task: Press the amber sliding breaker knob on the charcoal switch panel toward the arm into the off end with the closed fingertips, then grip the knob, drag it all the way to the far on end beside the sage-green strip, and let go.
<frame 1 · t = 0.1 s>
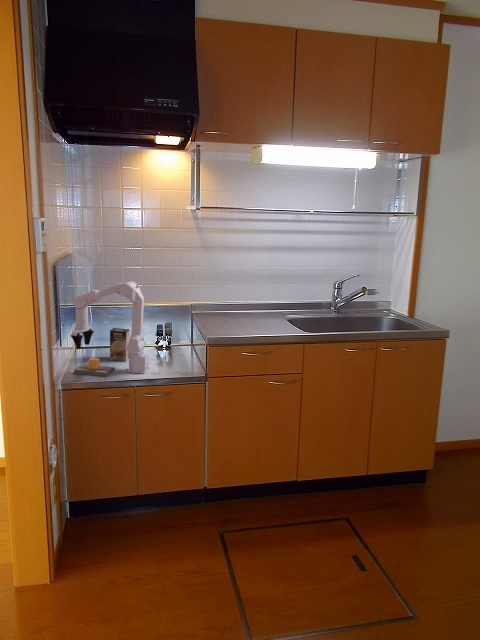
hand: (82, 346, 250), 10 cm above the countertop, tool pointing down, fingers open, 7 cm apart
breaker knob: (93, 363, 242), point 5 cm above the countertop, slide at 0.0 cm
switch panel: (94, 372, 243), on the countertop
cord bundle: (99, 368, 249), on the countertop
coffee box: (119, 359, 266), on the countertop
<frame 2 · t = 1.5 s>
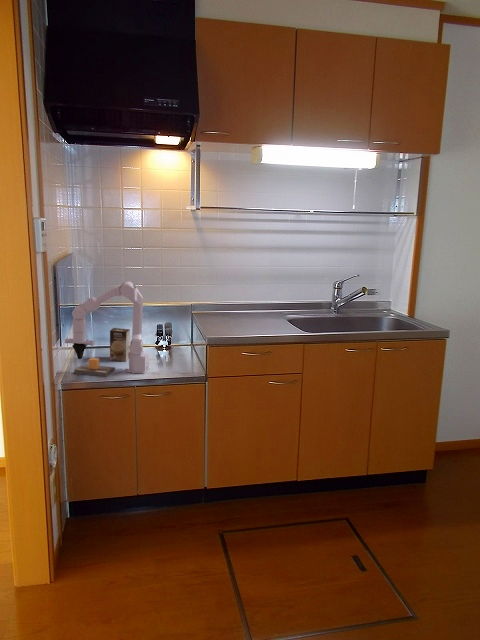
hand: (80, 358, 243), 6 cm above the countertop, tool pointing down, fingers closed
nothing on the countertop moved.
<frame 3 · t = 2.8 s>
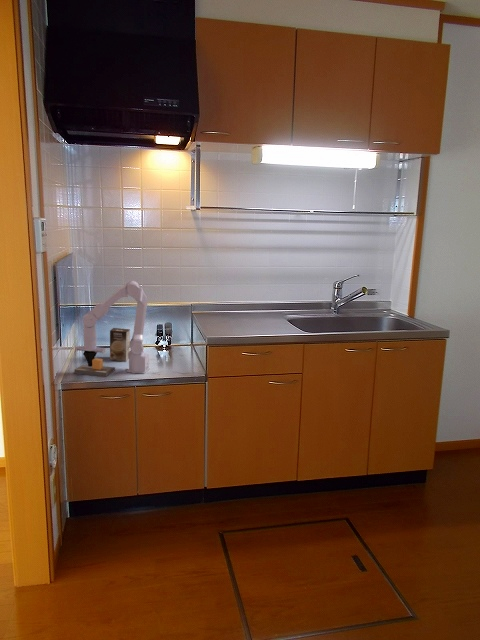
hand: (90, 365, 243), 3 cm above the countertop, tool pointing down, fingers closed
breaker knob: (97, 363, 242), point 5 cm above the countertop, slide at -1.9 cm, touching gripper
everything else where it was.
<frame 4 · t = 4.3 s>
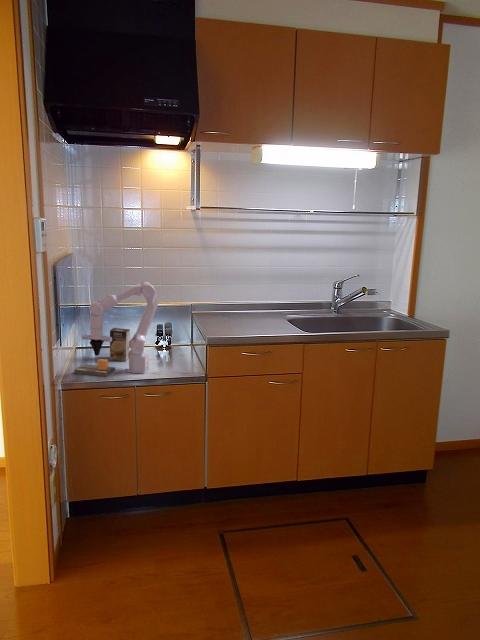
hand: (97, 354, 241), 9 cm above the countertop, tool pointing down, fingers closed
breaker knob: (102, 364, 241), point 5 cm above the countertop, slide at -4.6 cm
everything else where it was.
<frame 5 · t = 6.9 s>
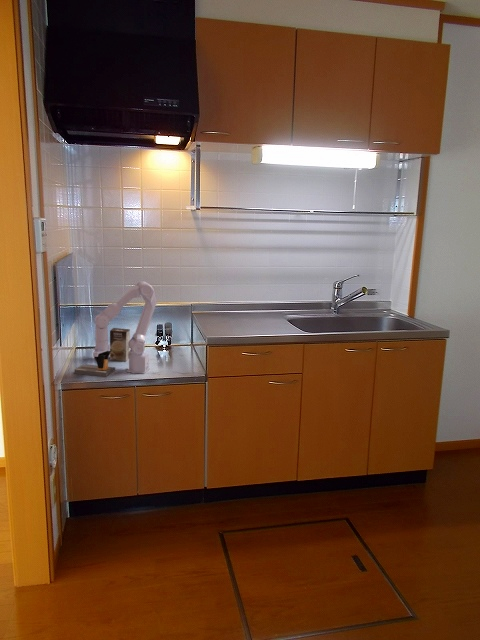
hand: (102, 367, 242), 3 cm above the countertop, tool pointing down, fingers closed on breaker knob, 3 cm apart
breaker knob: (102, 364, 241), point 5 cm above the countertop, slide at -4.5 cm, touching gripper
everything else where it was.
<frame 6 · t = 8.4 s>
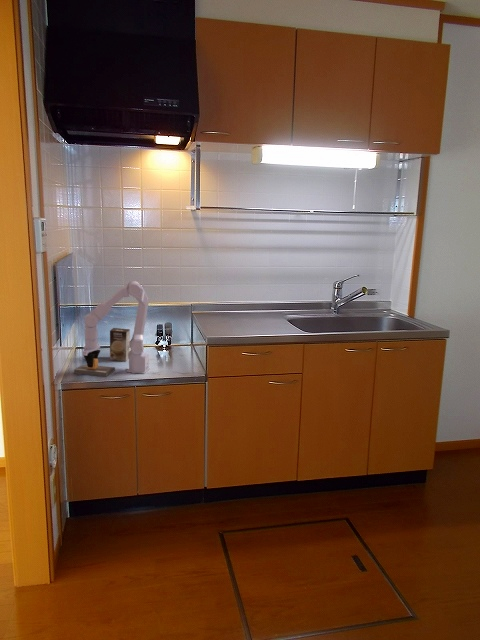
hand: (91, 366, 242), 3 cm above the countertop, tool pointing down, fingers closed on breaker knob, 3 cm apart
breaker knob: (92, 363, 242), point 5 cm above the countertop, slide at 0.7 cm, touching gripper
everything else where it was.
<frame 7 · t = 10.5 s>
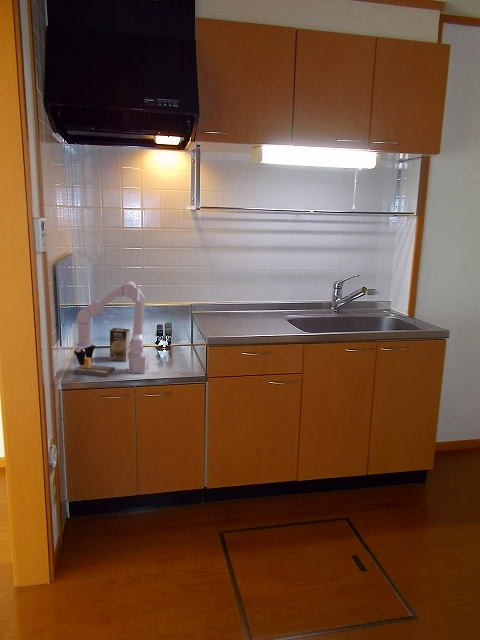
hand: (85, 362, 243), 5 cm above the countertop, tool pointing down, fingers open, 7 cm apart
breaker knob: (85, 362, 243), point 5 cm above the countertop, slide at 4.1 cm
everything else where it was.
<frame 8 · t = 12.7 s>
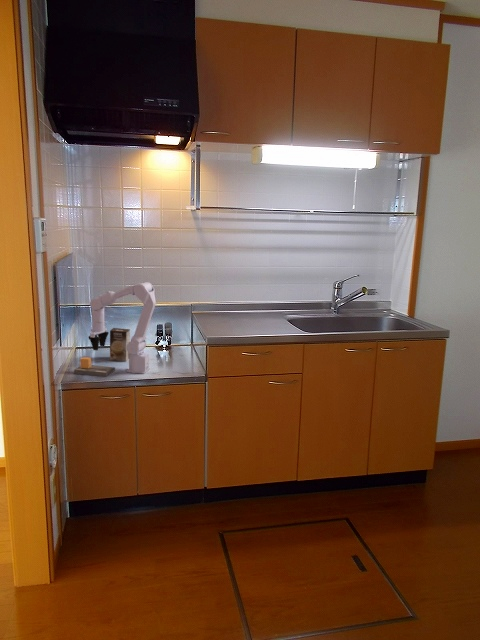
hand: (99, 348, 251), 9 cm above the countertop, tool pointing down, fingers open, 7 cm apart
nothing on the countertop moved.
at the end: breaker knob slide at 4.1 cm; the gripper is holding nothing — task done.
